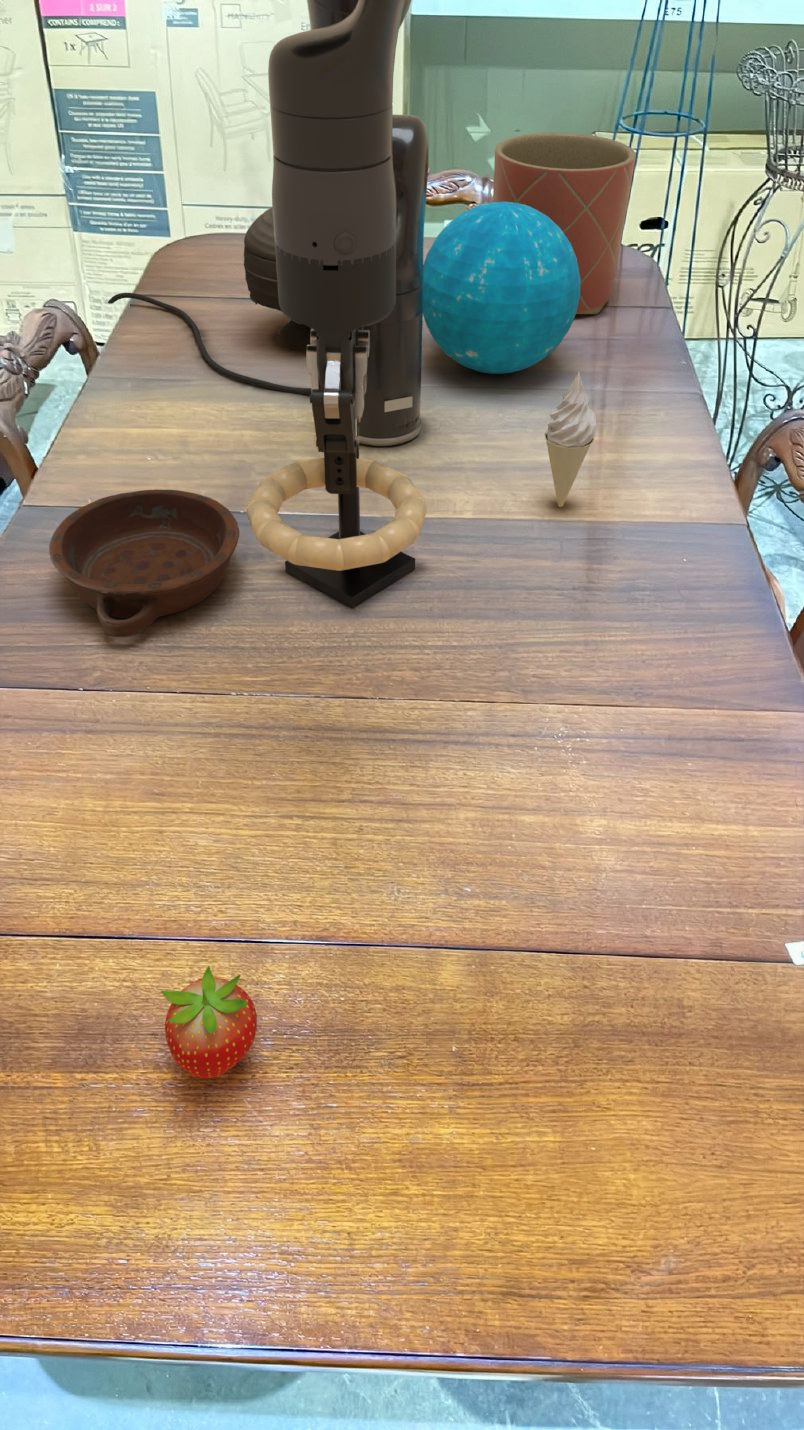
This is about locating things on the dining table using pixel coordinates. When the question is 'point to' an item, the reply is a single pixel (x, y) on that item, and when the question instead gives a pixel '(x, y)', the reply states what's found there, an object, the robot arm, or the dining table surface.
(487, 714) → the dining table surface
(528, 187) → the planter
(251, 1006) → the fruit
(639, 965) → the dining table surface
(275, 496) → the ring
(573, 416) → the ice cream cone
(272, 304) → the pot
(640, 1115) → the dining table surface
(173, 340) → the dining table surface
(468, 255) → the decorative sphere
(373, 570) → the post
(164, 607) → the dish
